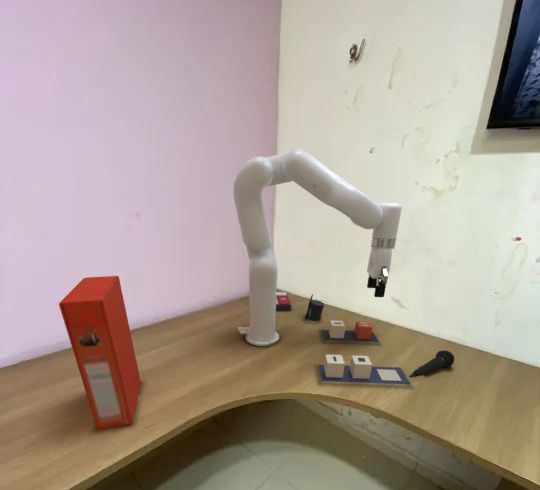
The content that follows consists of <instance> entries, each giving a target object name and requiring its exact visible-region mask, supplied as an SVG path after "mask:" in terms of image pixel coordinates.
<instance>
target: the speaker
mask: <svg viewBox="0 0 540 490" xmlns="http://www.w3.org/2000/svg"><path fill="white" fill-rule="evenodd" d="M313 297H314V294H311V296H310V298H309V303H308V306H307V309H306V314H305V317H304V319H307V320H308V321H311V322H319V321H320V320H321V318H322V314H323V311H324V306H325V303H324V302H322V301H321V300H318V299H313Z"/></svg>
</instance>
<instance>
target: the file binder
mask: <svg viewBox="0 0 540 490" xmlns="http://www.w3.org/2000/svg"><path fill="white" fill-rule="evenodd" d="M122 290H123V289H122V285H121V280H120V277H119V275H109V276H106V275H105V276H90V277H88V276H87V277H83V278H82V279H81V280H80V281H79V282H78V283H77V284H76V285H75V286H74V287H73V288H72V289H71V290H70V291H69V292H68V293H67V294H66V295H65V297H64V298H62V300H61V301H59V302H58V307H59V310H60V312H61V316H62V319H63V322H64V326H65V329H66V333H67V335H68V339H69V342H70V345H71V348H72V352H73V355H74V358H75V361H76V365H77V368H78V371H79V374H80V378H81V381H82V384H83V387H84V391H85V394H86V397H87V400H88V403H89V407H90V410H91V413H92V416H93V420H94V423H95V426H96V429H97V430H99V431H100V430H105V429H111V428H117V427H123V426H131V425H132V424H133V423H134V419H135V413H136V407H137V404H138V399H139V393H140V388H141V383H142V381H141V377H140V371H139V367H138V362H137V357H136V352H135V348H134V347H135V346H134V343H133V339H132V334H131V329H130V328H131V327H130V324H129V318H128V314H127V310H126V304H125V300H124V299H125V298H124V295H123V291H122Z"/></svg>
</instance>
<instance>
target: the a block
mask: <svg viewBox="0 0 540 490" xmlns="http://www.w3.org/2000/svg"><path fill="white" fill-rule="evenodd" d="M328 324H329V325H328V330H329V335H330V338H344V333H345V330H346V324H345V322H344V320H331V319H330V320H329V323H328Z"/></svg>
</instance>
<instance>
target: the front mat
mask: <svg viewBox="0 0 540 490" xmlns="http://www.w3.org/2000/svg"><path fill="white" fill-rule="evenodd" d="M318 369H319V370H318V371H319V376H320V380H321V382H332V383H333V382H335V383H358V384H360V383H361V384H363V383H364V384H387V385H411V382H410V381H409V379H408V378H407V376H406V374H405V373H404V371H403V370H402V368H401V367H394V366H393V367H392V366H372V368H371V373H370V378H369V379H361V378H353V377H352V375H351V372H350V365H344V371H343V378H335V377H326V375H325V371H324V364H318Z"/></svg>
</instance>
